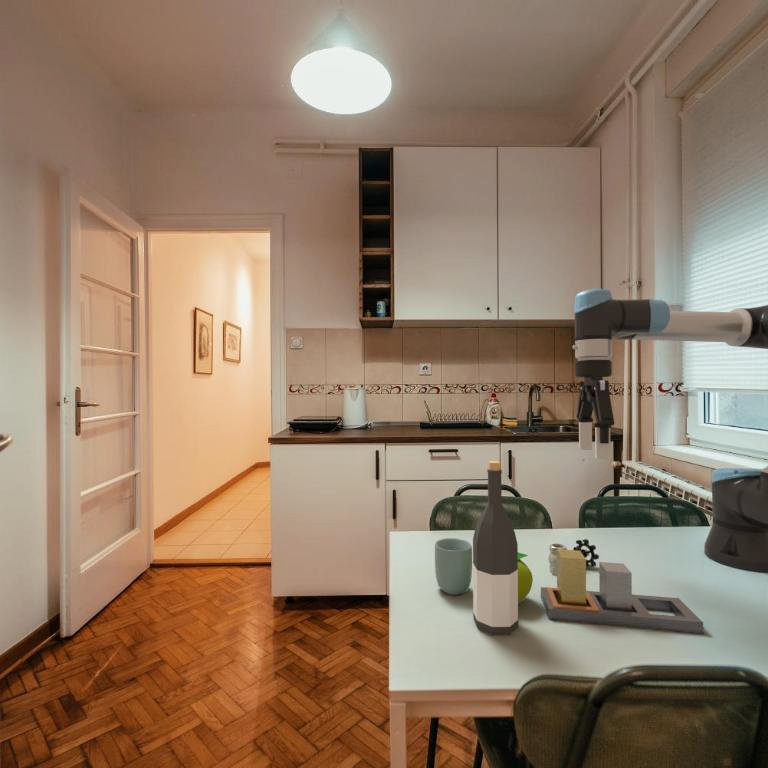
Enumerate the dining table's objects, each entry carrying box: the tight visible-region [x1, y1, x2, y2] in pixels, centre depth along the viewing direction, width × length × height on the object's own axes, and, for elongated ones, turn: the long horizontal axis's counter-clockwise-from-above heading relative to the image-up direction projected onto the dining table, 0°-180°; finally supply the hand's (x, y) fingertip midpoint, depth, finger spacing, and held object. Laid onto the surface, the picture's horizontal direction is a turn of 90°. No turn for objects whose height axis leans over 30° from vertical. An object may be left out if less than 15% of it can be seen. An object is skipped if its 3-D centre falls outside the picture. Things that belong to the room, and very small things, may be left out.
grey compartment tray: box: [540, 586, 704, 634], centre depth 84 cm, size 26×9×2 cm, turn 79°
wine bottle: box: [472, 460, 519, 636], centre depth 80 cm, size 8×8×30 cm
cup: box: [434, 537, 473, 596], centre depth 94 cm, size 8×8×10 cm
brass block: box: [556, 549, 587, 607], centre depth 85 cm, size 4×4×11 cm
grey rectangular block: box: [598, 561, 633, 612], centre depth 84 cm, size 4×4×9 cm
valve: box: [548, 538, 600, 577], centre depth 104 cm, size 7×7×12 cm
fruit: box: [518, 552, 533, 605], centre depth 89 cm, size 9×9×10 cm
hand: (593, 454), depth 98 cm, fingers open, 13 cm apart
